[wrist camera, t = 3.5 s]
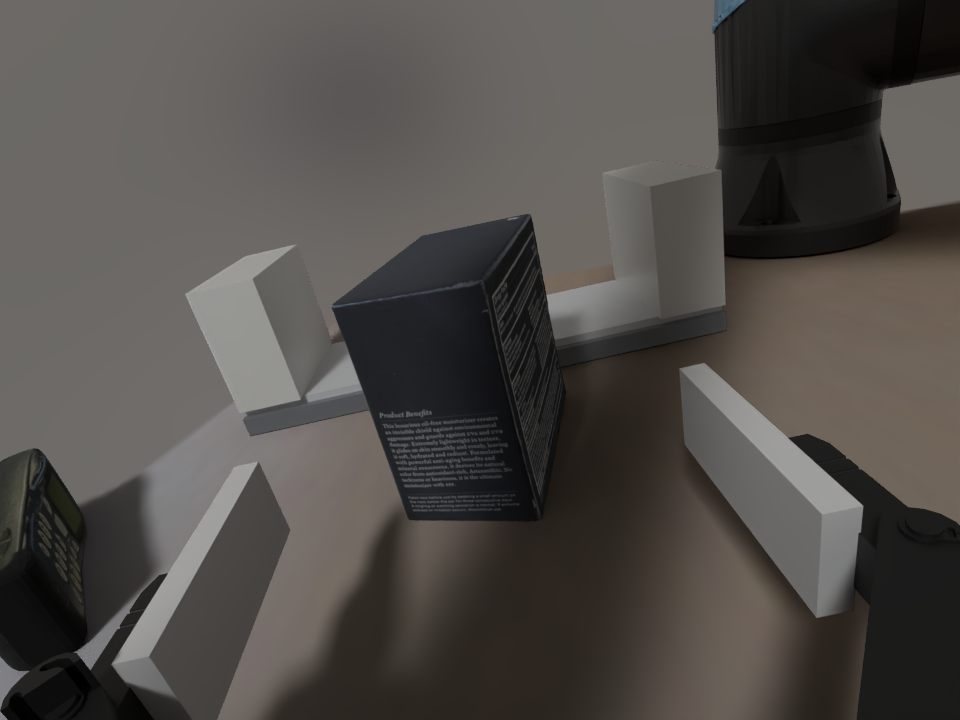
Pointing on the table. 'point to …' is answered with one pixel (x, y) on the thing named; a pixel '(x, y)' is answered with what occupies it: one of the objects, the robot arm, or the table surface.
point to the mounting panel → (578, 338)
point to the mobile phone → (39, 563)
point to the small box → (461, 371)
